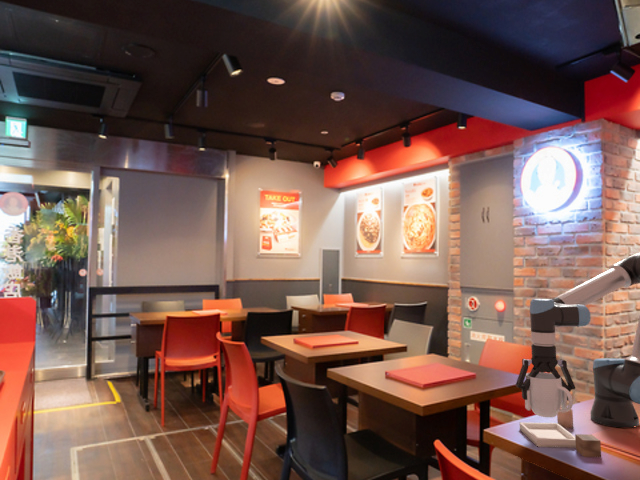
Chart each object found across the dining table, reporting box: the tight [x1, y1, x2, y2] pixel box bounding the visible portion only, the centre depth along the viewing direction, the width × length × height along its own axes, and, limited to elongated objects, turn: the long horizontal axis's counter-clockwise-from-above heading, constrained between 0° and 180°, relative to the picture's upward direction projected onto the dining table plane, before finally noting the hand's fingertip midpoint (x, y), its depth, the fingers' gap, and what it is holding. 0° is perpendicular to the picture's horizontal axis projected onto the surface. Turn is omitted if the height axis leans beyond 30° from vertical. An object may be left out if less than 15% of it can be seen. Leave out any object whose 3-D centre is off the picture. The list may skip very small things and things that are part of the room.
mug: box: [525, 372, 574, 418], centre depth 150 cm, size 15×11×13 cm
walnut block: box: [574, 433, 602, 458], centre depth 137 cm, size 5×5×5 cm
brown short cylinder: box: [556, 407, 574, 429], centre depth 162 cm, size 5×5×6 cm
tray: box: [519, 422, 576, 449], centre depth 150 cm, size 13×16×2 cm
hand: (546, 409), depth 151 cm, fingers closed on mug, 11 cm apart
